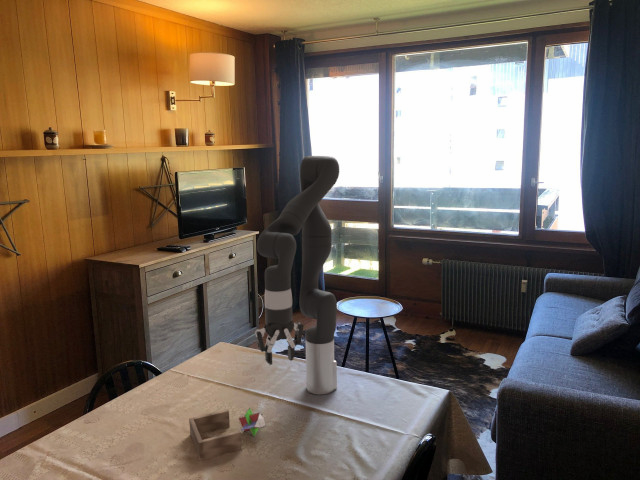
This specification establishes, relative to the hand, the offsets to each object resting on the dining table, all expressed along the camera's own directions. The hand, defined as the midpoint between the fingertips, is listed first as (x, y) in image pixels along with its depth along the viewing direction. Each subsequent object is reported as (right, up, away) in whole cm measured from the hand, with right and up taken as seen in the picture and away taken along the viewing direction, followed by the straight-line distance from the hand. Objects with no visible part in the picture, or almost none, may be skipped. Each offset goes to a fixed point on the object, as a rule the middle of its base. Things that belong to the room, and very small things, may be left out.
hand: (280, 361), depth 145 cm
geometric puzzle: (-8, -20, 0) cm, 22 cm away
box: (-17, -21, -4) cm, 27 cm away
